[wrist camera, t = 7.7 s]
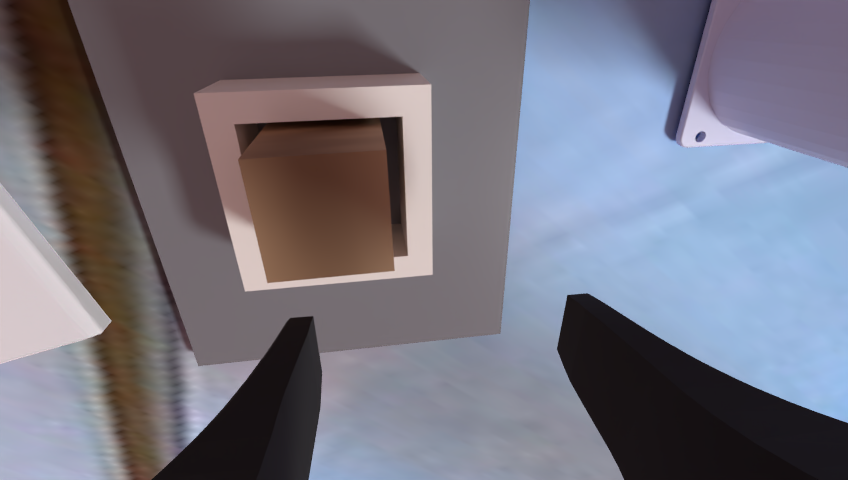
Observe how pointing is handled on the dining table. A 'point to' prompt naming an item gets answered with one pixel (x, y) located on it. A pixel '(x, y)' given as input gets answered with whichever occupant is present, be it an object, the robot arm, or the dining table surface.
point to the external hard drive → (38, 291)
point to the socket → (308, 101)
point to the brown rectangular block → (320, 198)
